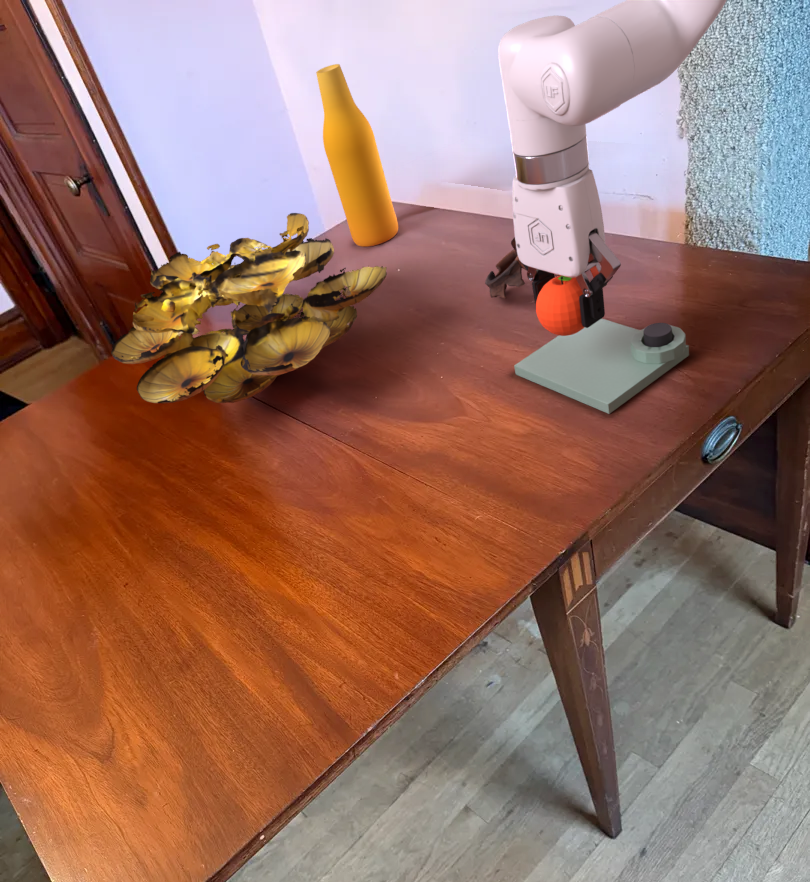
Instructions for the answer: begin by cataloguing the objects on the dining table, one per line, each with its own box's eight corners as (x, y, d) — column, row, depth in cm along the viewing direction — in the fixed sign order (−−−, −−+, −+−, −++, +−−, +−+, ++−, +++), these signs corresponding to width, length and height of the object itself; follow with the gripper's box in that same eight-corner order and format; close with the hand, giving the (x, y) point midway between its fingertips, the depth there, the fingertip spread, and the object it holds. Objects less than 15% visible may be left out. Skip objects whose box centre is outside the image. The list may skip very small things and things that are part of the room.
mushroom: (340, 273, 136) (307, 176, 125) (447, 368, 103) (416, 247, 91) (131, 368, 131) (76, 275, 119) (173, 500, 98) (103, 389, 86)
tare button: (677, 338, 89) (677, 326, 88) (659, 350, 88) (659, 339, 87) (656, 331, 92) (655, 320, 91) (638, 344, 91) (637, 332, 90)
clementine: (568, 308, 95) (562, 254, 90) (614, 318, 90) (610, 262, 86) (528, 340, 92) (519, 286, 87) (573, 352, 88) (567, 296, 83)
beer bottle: (347, 250, 143) (294, 83, 124) (361, 229, 149) (312, 66, 130) (392, 243, 140) (344, 70, 120) (404, 222, 146) (360, 54, 127)
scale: (695, 354, 91) (696, 332, 89) (612, 415, 86) (610, 394, 84) (593, 321, 102) (591, 301, 100) (515, 374, 98) (511, 354, 96)
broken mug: (543, 320, 107) (506, 277, 103) (505, 333, 115) (469, 294, 112) (584, 260, 110) (549, 217, 106) (543, 277, 118) (510, 238, 115)
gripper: (471, 167, 83) (499, 312, 95) (588, 185, 71) (602, 348, 83) (520, 140, 85) (541, 285, 97) (641, 153, 73) (648, 316, 85)
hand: (569, 313), depth 90 cm, fingers closed on clementine, 7 cm apart
